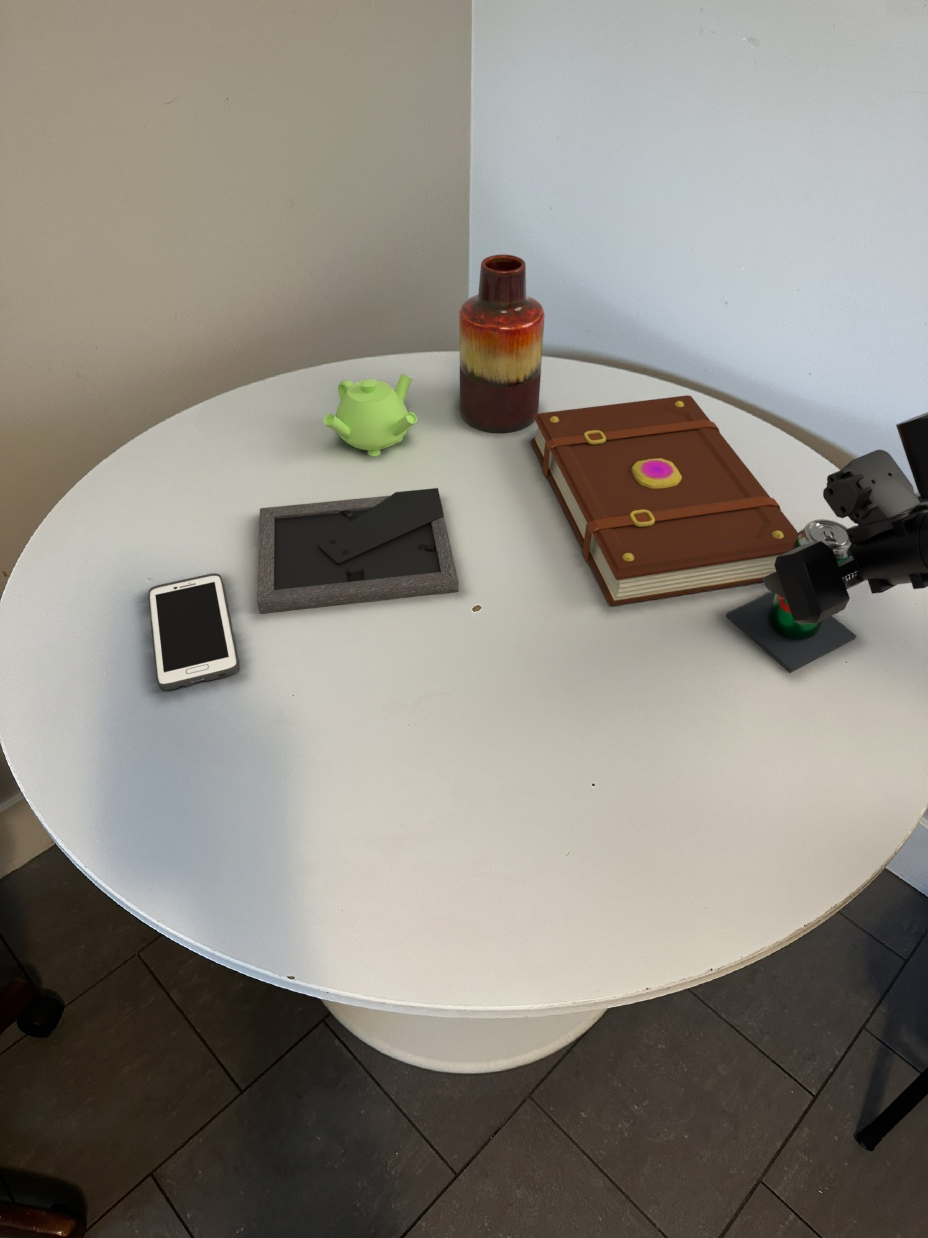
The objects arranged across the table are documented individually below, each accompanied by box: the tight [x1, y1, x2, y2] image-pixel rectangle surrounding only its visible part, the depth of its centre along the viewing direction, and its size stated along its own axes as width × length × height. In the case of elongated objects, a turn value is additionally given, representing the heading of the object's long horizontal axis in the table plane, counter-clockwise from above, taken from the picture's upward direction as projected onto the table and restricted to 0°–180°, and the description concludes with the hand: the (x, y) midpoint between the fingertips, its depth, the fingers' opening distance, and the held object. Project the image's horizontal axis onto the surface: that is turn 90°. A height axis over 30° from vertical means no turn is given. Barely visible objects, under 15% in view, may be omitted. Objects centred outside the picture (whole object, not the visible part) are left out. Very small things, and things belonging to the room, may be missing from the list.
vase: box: [458, 253, 546, 434], centre depth 105 cm, size 11×11×20 cm
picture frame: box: [256, 487, 459, 615], centre depth 91 cm, size 16×2×21 cm
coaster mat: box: [726, 591, 857, 674], centre depth 83 cm, size 9×9×1 cm
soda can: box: [768, 518, 853, 640], centre depth 79 cm, size 5×5×12 cm
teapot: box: [323, 373, 418, 457], centre depth 105 cm, size 11×12×8 cm
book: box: [529, 394, 799, 607], centre depth 96 cm, size 23×32×5 cm
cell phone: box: [147, 572, 240, 691], centre depth 83 cm, size 8×15×1 cm, turn 19°
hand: (799, 566), depth 79 cm, fingers open, 9 cm apart
